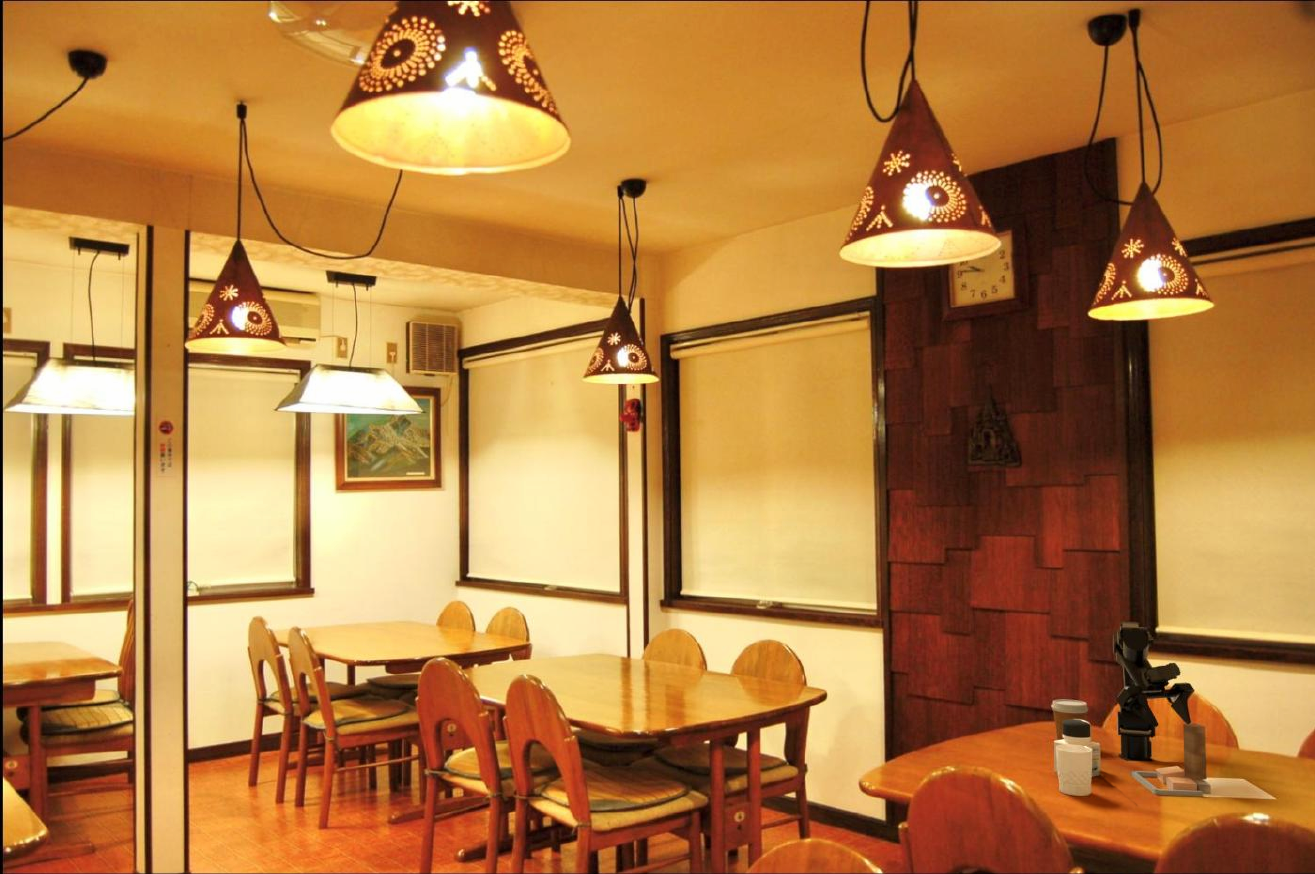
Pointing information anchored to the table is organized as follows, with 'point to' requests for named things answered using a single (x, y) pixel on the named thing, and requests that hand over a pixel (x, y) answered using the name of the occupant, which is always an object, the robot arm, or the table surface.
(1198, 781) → the upright brown post
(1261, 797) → the board
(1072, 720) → the container
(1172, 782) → the tile
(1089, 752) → the white cup
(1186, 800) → the table surface
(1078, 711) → the disposable coffee cup
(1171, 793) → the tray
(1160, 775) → the tile
